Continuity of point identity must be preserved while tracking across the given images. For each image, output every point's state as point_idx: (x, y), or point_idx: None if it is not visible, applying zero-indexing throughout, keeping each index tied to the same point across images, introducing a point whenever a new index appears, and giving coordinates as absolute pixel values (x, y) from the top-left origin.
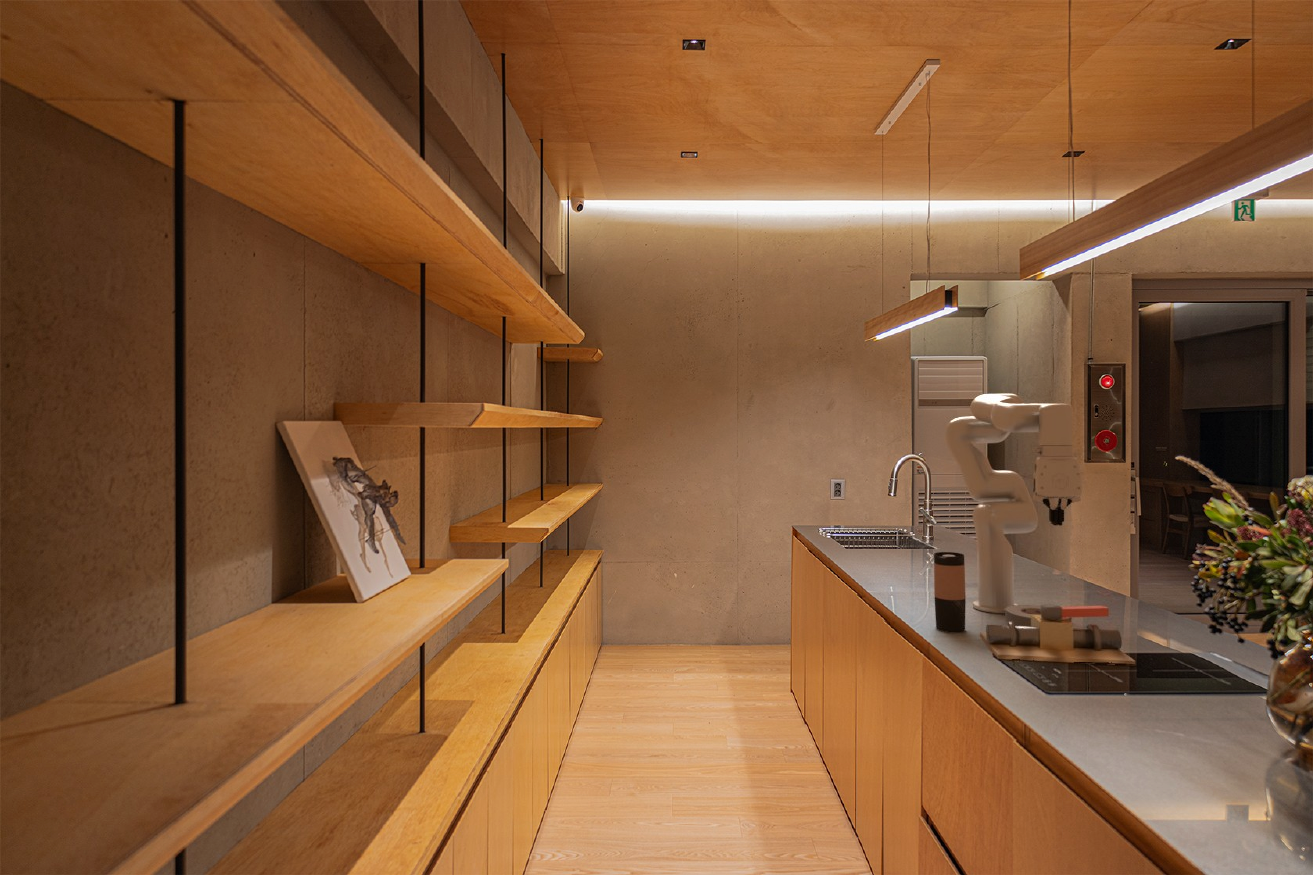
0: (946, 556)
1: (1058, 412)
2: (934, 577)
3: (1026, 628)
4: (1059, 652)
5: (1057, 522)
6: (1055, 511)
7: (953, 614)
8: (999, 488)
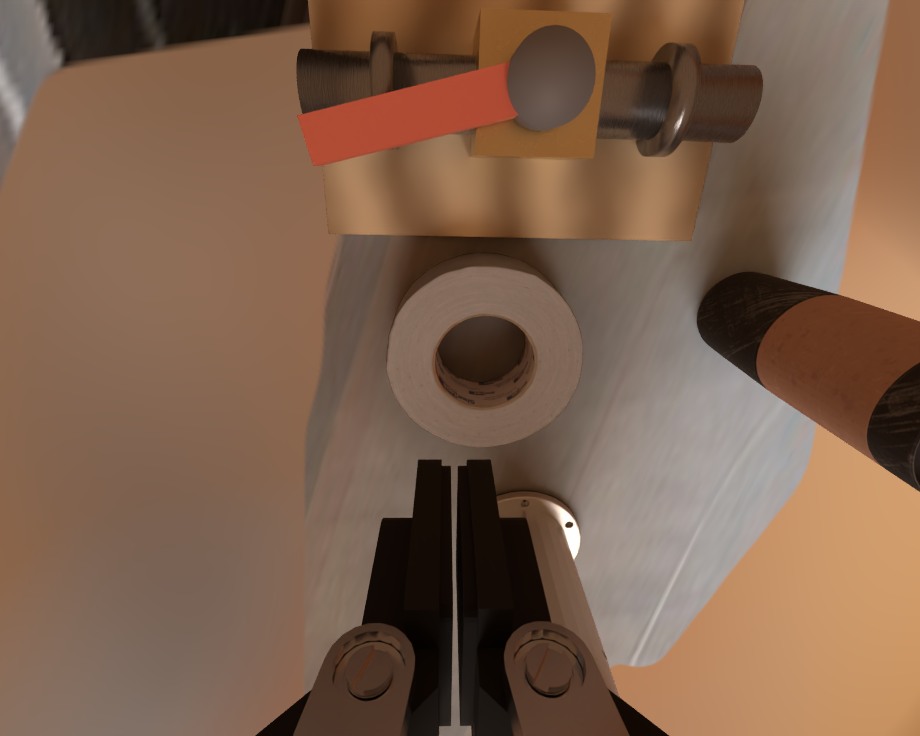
0: None
1: None
2: None
3: (628, 79)
4: (528, 9)
5: (469, 475)
6: (507, 583)
7: (789, 282)
8: None
